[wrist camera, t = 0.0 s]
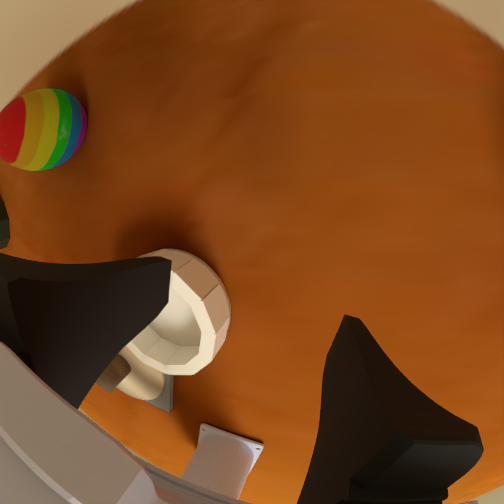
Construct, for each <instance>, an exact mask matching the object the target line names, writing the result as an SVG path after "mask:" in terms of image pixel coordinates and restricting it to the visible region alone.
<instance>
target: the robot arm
mask: <svg viewBox="0 0 504 504" xmlns="http://www.w3.org/2000/svg"><path fill="white" fill-rule="evenodd" d="M171 266H172V260H169V259H166V258H164V257H161V256H150V257H141V258H134V259H127V260H120V261H111V262H102V263H92V264H57V263H45V262H37V261H31V260H26V259H21V258H17V257H13V256H9V255H6V254H3V253H0V504H251V503H247V502H244V501H240V500H238V499H239V496H240V494H241V491H242V489H243V486H244V484H245V481H246V479H247V476H248V474H249V473H250V471H251V469H252V468H253V466H254V464H255V462H256V460H257V459H258V457H259V455H260V453H261V451H262V449H263V447H264V445H263V444H262V443H259V442H256V441H253V440H249V439H246V438H243V437H240V436H237V435H234V434H232V433H229V432H226V431H223V430H221V429H218V428H215V427H213V426H210V425H208V424H205V423H202V424H201V426H200V432H199V439H198V446H197V448H196V450H195V452H194V453H193V455H192V457H191V459H190V461H189V462H188V464H187V466H186V468H185V469H184V471H183V473H182V474H181V476H180V478H179V477H176V476H174V475H172V474H170V473H168V472H166V471H164V470H161V469H159V468H157V467H155V466H154V465H152V464H150V463H148V462H146V461H144V460H142V459H140V458H139V457H137V456H135V455H133V454H132V453H131V452H130V451H128V450H127V449H126V448H125V447H124V446H123V445H122V444H121V443H120V442H119V441H118V440H117V439H115V438H114V437H113V436H111V435H110V434H109V433H107V432H106V431H105V430H103V429H102V428H101V427H100V426H98V425H97V424H96V423H95V422H93V421H92V420H91V419H89V418H88V417H87V416H85V415H84V414H82V413H81V412H80V411H78V408H79V406H80V404H81V403H82V401H83V399H84V398H85V396H86V395H87V393H88V392H89V390H90V389H91V387H92V386H93V384H94V383H95V382H96V380H97V379H98V378H99V376H100V375H101V374H102V372H103V371H104V370H105V368H106V367H107V366H108V365H109V364H110V362H111V361H112V360H113V359H114V358H115V356H116V355H117V354H118V353H119V352H120V351H121V350H122V349H123V348H124V347H125V346H126V345H127V344H128V343H129V342H130V341H132V340H133V339H134V338H135V337H136V336H137V335H138V334H139V333H140V332H141V331H143V330H144V329H145V328H146V327H147V326H148V325H149V324H150V323H151V322H152V321H153V320H154V319H155V318H156V317H157V316H158V315H159V314H160V313H161V311H162V310H163V309H164V307H165V306H166V305H167V304H168V302H169V289H170V277H171ZM483 450H484V449H483V445H482V441H481V438H480V434H479V431H478V428H477V427H476V426H474V425H472V424H470V423H468V422H467V421H465V420H463V419H461V418H459V417H457V416H455V415H453V414H452V413H450V412H449V411H447V410H446V409H444V408H443V407H441V406H440V405H438V404H437V403H435V402H434V401H433V400H431V399H430V398H429V397H427V396H426V395H425V394H424V393H423V392H421V391H420V390H419V389H418V388H417V387H416V386H414V385H413V384H412V383H411V382H410V381H409V380H408V379H407V378H406V377H405V376H404V375H403V374H402V373H401V372H400V371H399V369H398V368H397V367H396V366H395V365H394V364H393V363H392V361H391V360H390V359H389V358H388V356H387V355H386V354H385V353H384V351H383V350H382V349H381V347H380V346H379V345H378V343H377V342H376V340H375V339H374V338H373V336H372V335H371V333H370V332H369V331H368V329H367V328H366V326H365V325H364V324H363V322H362V321H361V320H360V319H359V318H355V317H352V316H348V315H344V317H343V320H342V322H341V325H340V327H339V329H338V332H337V334H336V336H335V338H334V341H333V343H332V345H331V347H330V350H329V352H328V354H327V357H326V362H325V367H324V373H323V381H322V396H321V410H320V422H319V429H318V434H317V439H316V443H315V447H314V451H313V455H312V459H311V462H310V466H309V469H308V473H307V476H306V479H305V482H304V485H303V488H302V491H301V494H300V496H299V499H298V502H297V504H442V500H445V499H447V497H448V489H447V488H448V487H449V486H450V485H452V484H453V483H454V482H456V481H457V480H458V479H460V478H461V477H462V476H463V475H465V474H466V473H467V472H468V471H469V470H470V469H472V468H473V467H474V466H475V465H476V463H477V462H478V461H479V459H480V458H481V456H482V453H483ZM460 504H478V501H470V502H465V503H460Z"/></svg>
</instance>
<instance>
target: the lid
mask: <svg viewBox="0 0 504 504" xmlns="http://www.w3.org/2000/svg"><path fill="white" fill-rule="evenodd" d="M165 382H166V380H165V373H163V372H161V371H159V370H157V369H155V368H153V367H151V366H149V365H147V364H145V363H143V361H141V360H140V359H138V358H137V357H136V356H135V355H134V354H133V353H132V351H131V350H130V349H129V348H128V347H127V346H125V347H124V348H123V349H122V350H121V351H120V352H119V353H118V354H117V355H116V356H115V358H114V359H113V360H112V361H111V362H110V364H109V365H108V366H107V367H106V368H105V370H104V371H103V372H102V374H101V375H100V376H99V378H98V379H97V380H96V383H97V384H98V385H99V386H100V387H101V388H102V389H104V390H105V391H108V392H111V391H113V389H114V388H115V387H117V388H118V389H120V390H121V391H123V392H124V393H126V394H128V395H130V396H132V397H134V398H137V399H141V400H152V399H155V398H157V397H158V396H159V395H160V393H161V392H162V391H163V389H164V387H165Z"/></svg>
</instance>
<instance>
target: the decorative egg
mask: <svg viewBox="0 0 504 504" xmlns="http://www.w3.org/2000/svg"><path fill="white" fill-rule="evenodd" d="M86 129H87V116H86V112H85V109H84V107H83V106H82V104H81V103H80V101H79V100H78V99H77V98H76V97H75V96H73V95H72V94H70V93H68V92H66V91H63V90H60V89H53V88H46V89H38V90H34V91H31V92H28V93H25V94H23V95H21V96H19V97H18V98H16V99H15V100H13V101H12V102H10V103H9V104H8V105H7V106H6V107H5V108H4V109H3V110H2V111H1V112H0V157H1V158H2V159H3V160H5V161H6V162H7V163H9V164H11V165H12V166H15V167H17V168H20V169H24V170H30V171H41V170H47V169H51V168H54V167H57V166H59V165H61V164H62V163H64V162H66V161H67V160H68V159H70V158H71V157H72V156H73V155H74V154H75V153H76V152H77V151H78V149H79V148H80V146H81V145H82V142H83V140H84V137H85V134H86Z"/></svg>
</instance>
